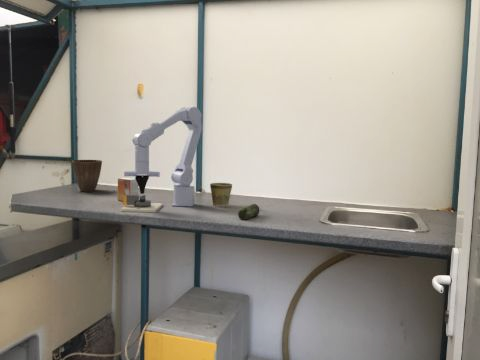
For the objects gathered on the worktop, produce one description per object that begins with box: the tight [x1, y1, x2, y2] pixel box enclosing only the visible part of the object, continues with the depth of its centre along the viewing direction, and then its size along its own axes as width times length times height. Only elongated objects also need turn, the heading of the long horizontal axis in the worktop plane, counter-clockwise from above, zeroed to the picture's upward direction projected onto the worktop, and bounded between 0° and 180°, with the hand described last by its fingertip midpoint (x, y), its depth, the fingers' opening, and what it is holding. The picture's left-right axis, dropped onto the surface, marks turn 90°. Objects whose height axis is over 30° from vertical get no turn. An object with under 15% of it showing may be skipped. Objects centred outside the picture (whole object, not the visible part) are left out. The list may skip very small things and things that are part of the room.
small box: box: [117, 177, 139, 202], centre depth 189 cm, size 8×6×10 cm
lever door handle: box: [122, 194, 152, 207], centre depth 172 cm, size 12×7×4 cm, turn 101°
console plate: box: [120, 202, 163, 213], centre depth 173 cm, size 14×16×1 cm
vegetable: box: [237, 203, 260, 220], centre depth 162 cm, size 14×5×5 cm, turn 154°
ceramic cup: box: [209, 182, 233, 208], centre depth 186 cm, size 13×10×10 cm
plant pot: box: [71, 159, 103, 193], centre depth 215 cm, size 15×15×16 cm
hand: (142, 193), depth 172 cm, fingers closed
